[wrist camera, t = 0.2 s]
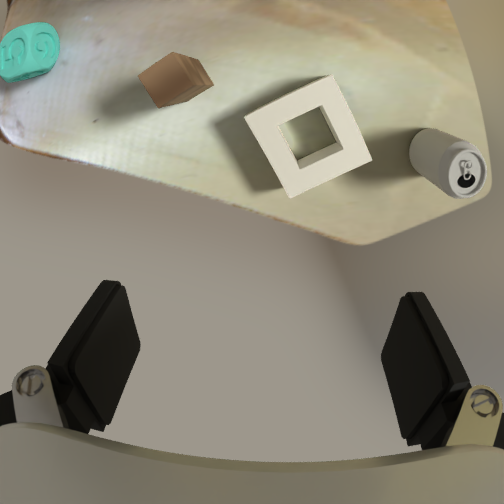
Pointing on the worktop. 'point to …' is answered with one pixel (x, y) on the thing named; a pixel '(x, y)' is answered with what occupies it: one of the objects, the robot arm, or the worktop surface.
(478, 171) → the can
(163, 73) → the peg
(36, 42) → the decorative dice
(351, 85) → the worktop surface
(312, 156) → the socket block
